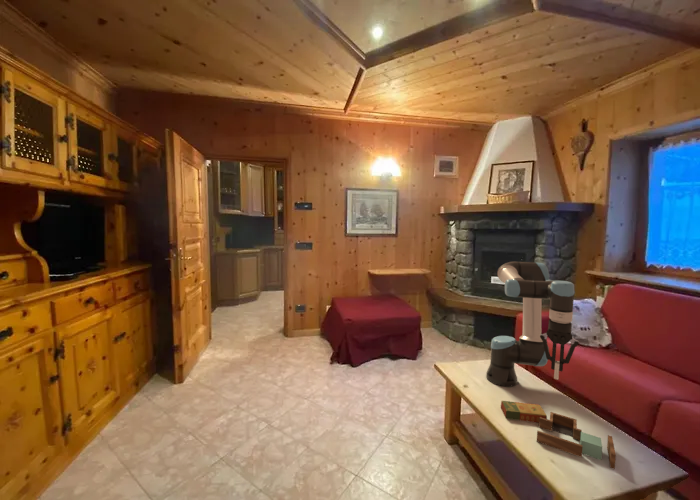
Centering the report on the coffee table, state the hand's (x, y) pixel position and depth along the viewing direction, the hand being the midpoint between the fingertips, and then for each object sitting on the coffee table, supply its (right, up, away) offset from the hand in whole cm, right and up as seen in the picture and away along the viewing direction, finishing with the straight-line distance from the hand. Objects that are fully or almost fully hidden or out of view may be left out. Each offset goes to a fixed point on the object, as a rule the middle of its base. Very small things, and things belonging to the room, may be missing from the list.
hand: (556, 377), depth 124 cm
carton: (-6, -22, +13) cm, 26 cm away
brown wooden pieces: (+4, -23, -3) cm, 24 cm away
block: (+6, -24, -9) cm, 26 cm away
